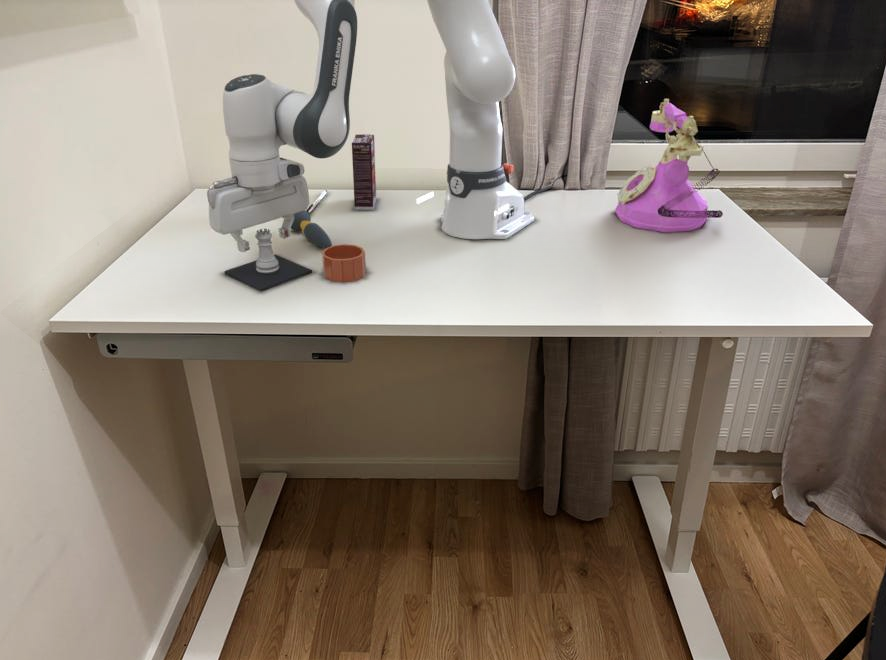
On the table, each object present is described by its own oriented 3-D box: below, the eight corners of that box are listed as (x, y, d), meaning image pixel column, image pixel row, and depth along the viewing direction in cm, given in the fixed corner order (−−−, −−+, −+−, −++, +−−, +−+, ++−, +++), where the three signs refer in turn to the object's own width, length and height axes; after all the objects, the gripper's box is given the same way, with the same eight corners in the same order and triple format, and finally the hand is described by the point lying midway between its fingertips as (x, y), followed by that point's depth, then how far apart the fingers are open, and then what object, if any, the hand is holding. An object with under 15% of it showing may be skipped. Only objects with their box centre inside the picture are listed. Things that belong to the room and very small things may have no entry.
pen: (303, 216, 173) (303, 212, 172) (324, 192, 189) (324, 187, 189) (307, 217, 173) (307, 212, 172) (328, 192, 189) (328, 187, 188)
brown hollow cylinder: (346, 262, 149) (345, 241, 147) (374, 273, 145) (373, 251, 142) (315, 274, 144) (313, 252, 142) (342, 285, 140) (341, 263, 137)
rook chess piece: (251, 272, 143) (246, 233, 139) (264, 264, 147) (259, 225, 143) (271, 276, 142) (266, 236, 138) (284, 267, 146) (279, 228, 142)
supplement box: (374, 210, 177) (371, 143, 169) (354, 210, 177) (350, 143, 169) (377, 199, 184) (374, 133, 176) (357, 199, 184) (354, 133, 176)
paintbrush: (346, 248, 156) (344, 225, 153) (325, 254, 153) (323, 230, 151) (299, 223, 170) (297, 201, 167) (280, 227, 167) (277, 206, 164)
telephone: (606, 199, 184) (618, 93, 171) (698, 200, 183) (717, 94, 170) (634, 254, 153) (652, 130, 140) (746, 255, 152) (774, 130, 140)
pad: (275, 256, 152) (274, 254, 152) (312, 272, 145) (312, 269, 145) (224, 273, 145) (224, 271, 144) (261, 291, 137) (260, 288, 137)
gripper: (216, 187, 126) (227, 263, 133) (311, 163, 139) (316, 233, 146) (195, 180, 130) (208, 254, 137) (290, 157, 143) (297, 226, 150)
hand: (265, 243), depth 142 cm, fingers open, 8 cm apart
